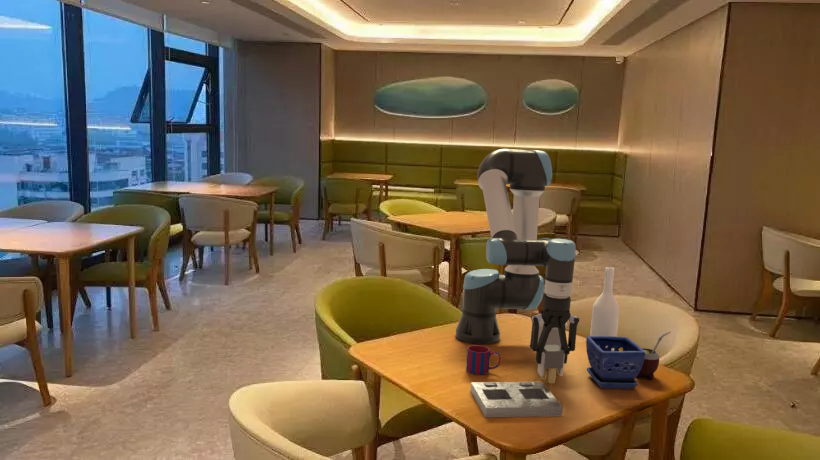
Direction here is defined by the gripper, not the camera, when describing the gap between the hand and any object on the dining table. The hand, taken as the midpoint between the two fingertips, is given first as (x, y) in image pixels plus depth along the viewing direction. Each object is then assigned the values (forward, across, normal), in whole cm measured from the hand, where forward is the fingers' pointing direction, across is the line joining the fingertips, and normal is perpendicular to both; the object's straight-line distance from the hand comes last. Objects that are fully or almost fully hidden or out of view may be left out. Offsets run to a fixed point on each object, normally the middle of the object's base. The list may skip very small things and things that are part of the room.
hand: (550, 373), depth 182 cm
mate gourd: (+3, +32, +4) cm, 32 cm away
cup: (+3, -17, +10) cm, 20 cm away
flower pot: (+3, +19, 0) cm, 19 cm away
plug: (+2, 0, 0) cm, 2 cm away
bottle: (+4, +24, +18) cm, 31 cm away
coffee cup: (+3, +5, +14) cm, 16 cm away
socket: (+3, -14, -12) cm, 19 cm away
